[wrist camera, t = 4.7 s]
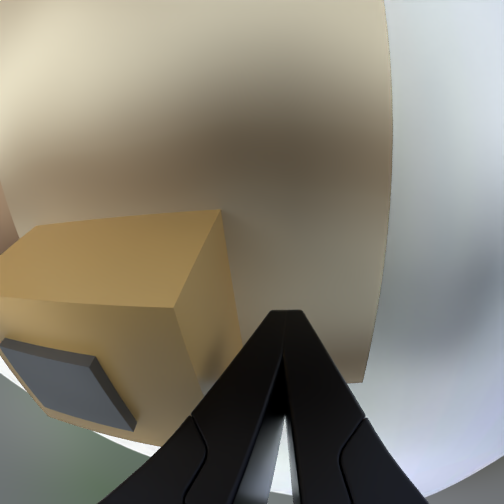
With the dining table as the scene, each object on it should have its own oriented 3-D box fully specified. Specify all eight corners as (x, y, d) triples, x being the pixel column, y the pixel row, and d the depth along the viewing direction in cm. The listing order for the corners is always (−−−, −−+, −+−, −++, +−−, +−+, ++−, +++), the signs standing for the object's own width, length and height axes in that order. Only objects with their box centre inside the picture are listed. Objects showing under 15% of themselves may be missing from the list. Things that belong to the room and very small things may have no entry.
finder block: (244, 357, 10) (225, 465, 7) (89, 344, 11) (44, 423, 8) (220, 209, 7) (166, 321, 4) (35, 225, 8) (-45, 298, 5)
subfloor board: (354, 333, 12) (362, 382, 10) (-1, 314, 15) (-22, 340, 13) (346, -63, 5) (361, -99, 3) (-72, 97, 8) (-106, 109, 6)
